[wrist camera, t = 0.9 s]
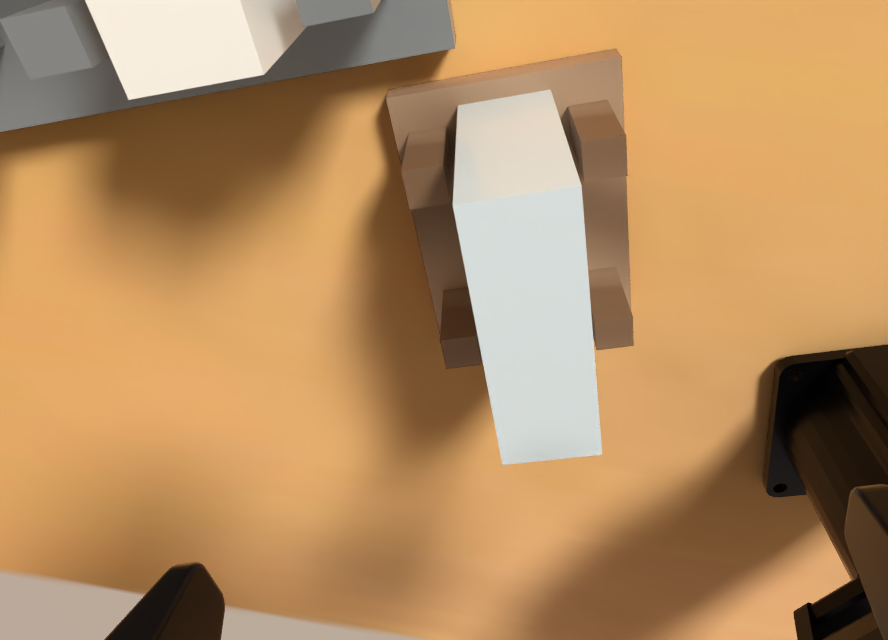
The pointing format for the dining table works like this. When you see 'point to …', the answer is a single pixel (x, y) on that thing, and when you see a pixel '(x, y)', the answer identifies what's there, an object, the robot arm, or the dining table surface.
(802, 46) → the dining table surface
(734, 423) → the dining table surface
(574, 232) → the white long rectangular block
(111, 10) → the white rectangular block
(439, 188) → the stand
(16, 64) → the rack
